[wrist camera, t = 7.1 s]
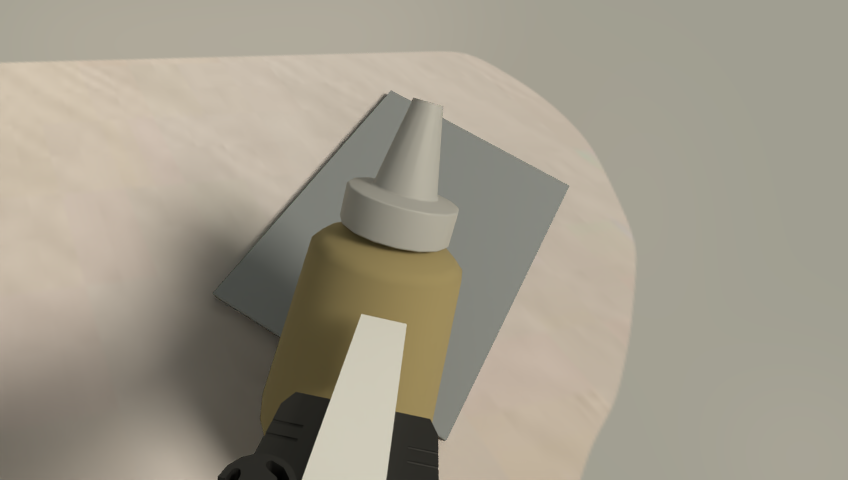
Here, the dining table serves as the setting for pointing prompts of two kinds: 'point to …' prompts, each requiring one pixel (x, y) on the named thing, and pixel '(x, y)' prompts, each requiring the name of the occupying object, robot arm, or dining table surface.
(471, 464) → the dining table surface
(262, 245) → the rubber mat
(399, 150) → the squeeze bottle
